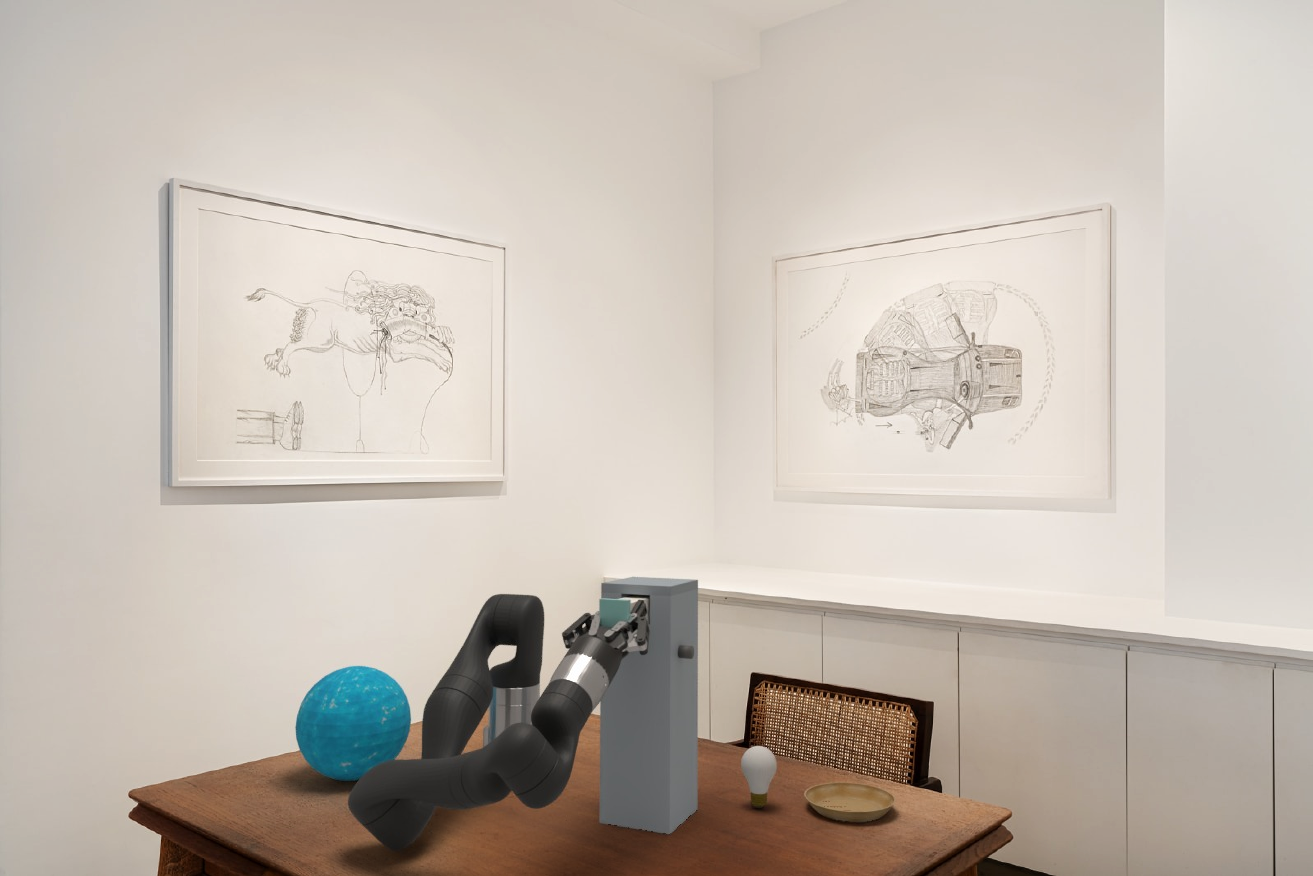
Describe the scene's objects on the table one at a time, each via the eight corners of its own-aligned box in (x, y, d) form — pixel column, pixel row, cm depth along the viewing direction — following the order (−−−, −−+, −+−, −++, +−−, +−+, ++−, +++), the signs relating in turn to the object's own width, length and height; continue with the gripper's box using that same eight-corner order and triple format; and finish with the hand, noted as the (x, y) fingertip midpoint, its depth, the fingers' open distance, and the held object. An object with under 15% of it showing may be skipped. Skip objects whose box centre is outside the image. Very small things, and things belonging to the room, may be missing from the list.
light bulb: (780, 804, 155) (779, 743, 155) (772, 816, 149) (772, 753, 150) (745, 800, 157) (745, 740, 157) (737, 811, 151) (737, 749, 152)
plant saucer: (839, 834, 142) (839, 816, 142) (787, 804, 155) (786, 788, 156) (915, 820, 148) (914, 803, 148) (858, 792, 162) (858, 777, 162)
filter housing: (588, 821, 146) (590, 582, 148) (620, 798, 157) (622, 576, 159) (681, 836, 140) (682, 587, 142) (708, 811, 151) (709, 580, 153)
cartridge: (599, 630, 138) (599, 599, 139) (649, 614, 156) (649, 587, 156) (627, 631, 136) (627, 600, 137) (674, 616, 154) (674, 588, 154)
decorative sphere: (360, 802, 154) (363, 681, 155) (268, 788, 162) (271, 672, 163) (432, 769, 173) (434, 661, 174) (346, 757, 180) (348, 654, 181)
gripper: (623, 659, 124) (666, 585, 138) (532, 651, 130) (582, 581, 144) (635, 702, 127) (675, 625, 141) (545, 693, 133) (592, 620, 147)
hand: (628, 603), depth 143 cm, fingers closed on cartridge, 4 cm apart
